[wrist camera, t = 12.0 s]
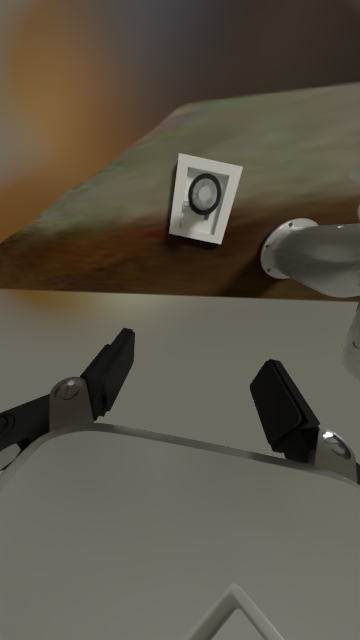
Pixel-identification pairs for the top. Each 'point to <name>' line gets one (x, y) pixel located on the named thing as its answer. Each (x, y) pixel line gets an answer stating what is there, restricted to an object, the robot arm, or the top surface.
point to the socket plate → (213, 223)
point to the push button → (204, 194)
